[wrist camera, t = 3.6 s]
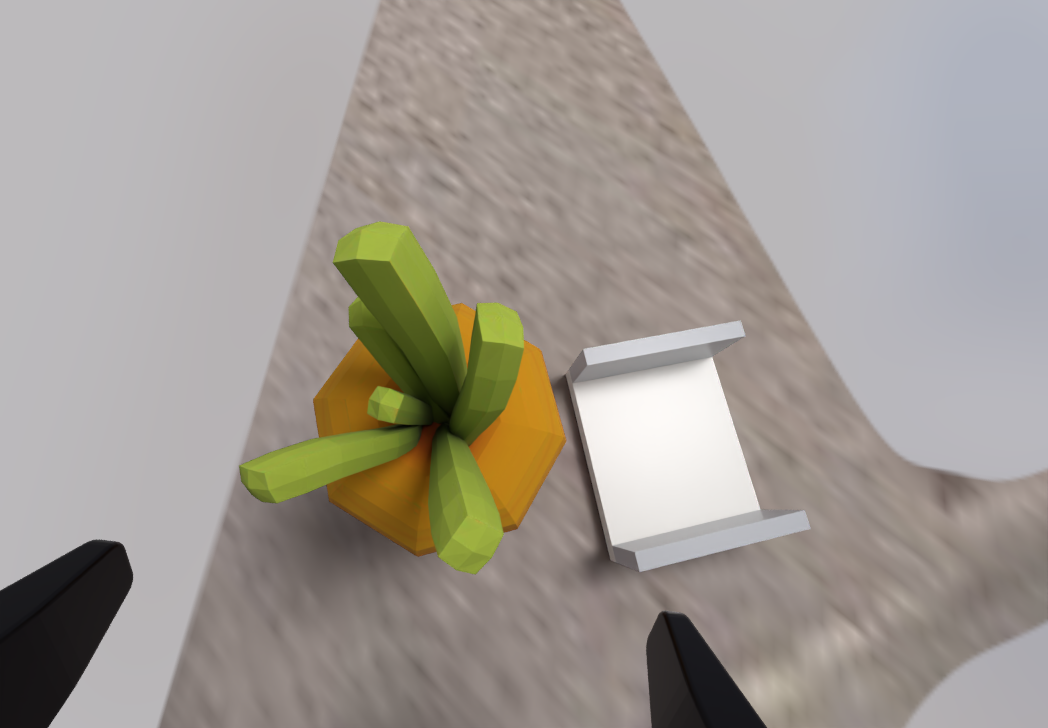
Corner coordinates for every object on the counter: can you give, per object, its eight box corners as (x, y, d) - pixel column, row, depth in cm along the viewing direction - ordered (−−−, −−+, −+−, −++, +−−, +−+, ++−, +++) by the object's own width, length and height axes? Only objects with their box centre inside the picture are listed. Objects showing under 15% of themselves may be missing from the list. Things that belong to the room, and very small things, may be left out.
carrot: (511, 540, 19) (631, 646, 5) (378, 521, 19) (74, 574, 4) (529, 410, 20) (663, 187, 6) (405, 391, 20) (240, 110, 6)
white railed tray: (754, 524, 20) (810, 528, 17) (610, 560, 19) (639, 571, 16) (699, 348, 22) (740, 320, 19) (565, 373, 21) (583, 349, 18)
